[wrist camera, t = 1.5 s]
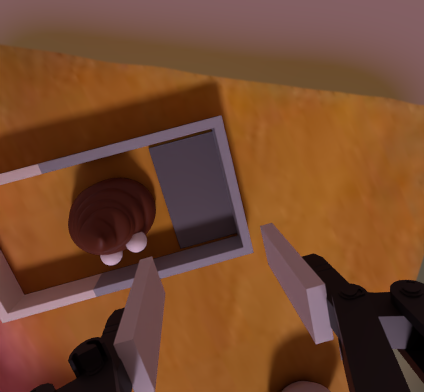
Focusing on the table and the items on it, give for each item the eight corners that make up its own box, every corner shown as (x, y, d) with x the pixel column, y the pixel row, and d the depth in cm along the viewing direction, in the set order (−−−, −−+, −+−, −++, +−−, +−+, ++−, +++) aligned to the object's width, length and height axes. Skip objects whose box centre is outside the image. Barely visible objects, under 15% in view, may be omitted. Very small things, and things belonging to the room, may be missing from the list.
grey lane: (217, 116, 31) (221, 115, 28) (246, 240, 36) (253, 252, 32) (53, 159, 31) (37, 164, 27) (104, 279, 35) (96, 296, 32)
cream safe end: (53, 159, 31) (37, 164, 27) (104, 279, 35) (96, 296, 32) (-44, 185, 30) (-73, 193, 27) (20, 303, 35) (2, 323, 31)
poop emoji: (134, 162, 32) (114, 178, 23) (170, 222, 34) (166, 259, 25) (59, 202, 32) (11, 233, 23) (100, 259, 34) (71, 307, 25)
